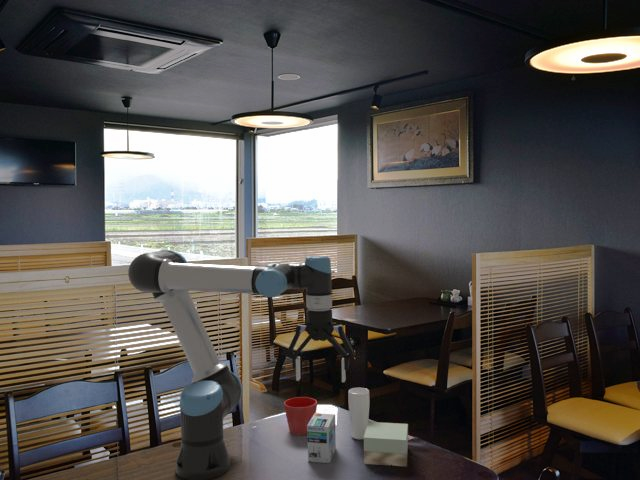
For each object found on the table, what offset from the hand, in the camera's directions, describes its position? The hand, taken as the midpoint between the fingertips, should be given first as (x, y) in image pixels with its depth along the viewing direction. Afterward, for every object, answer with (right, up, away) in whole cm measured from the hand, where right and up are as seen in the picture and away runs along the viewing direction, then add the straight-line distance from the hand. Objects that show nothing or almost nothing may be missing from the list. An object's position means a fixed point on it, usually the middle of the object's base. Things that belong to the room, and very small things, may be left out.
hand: (320, 380), depth 162 cm
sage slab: (+19, -19, 0) cm, 27 cm away
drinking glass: (+12, -22, +14) cm, 29 cm away
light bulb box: (0, -23, +1) cm, 23 cm away
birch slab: (+19, -23, 0) cm, 30 cm away
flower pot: (-6, -22, +20) cm, 30 cm away
